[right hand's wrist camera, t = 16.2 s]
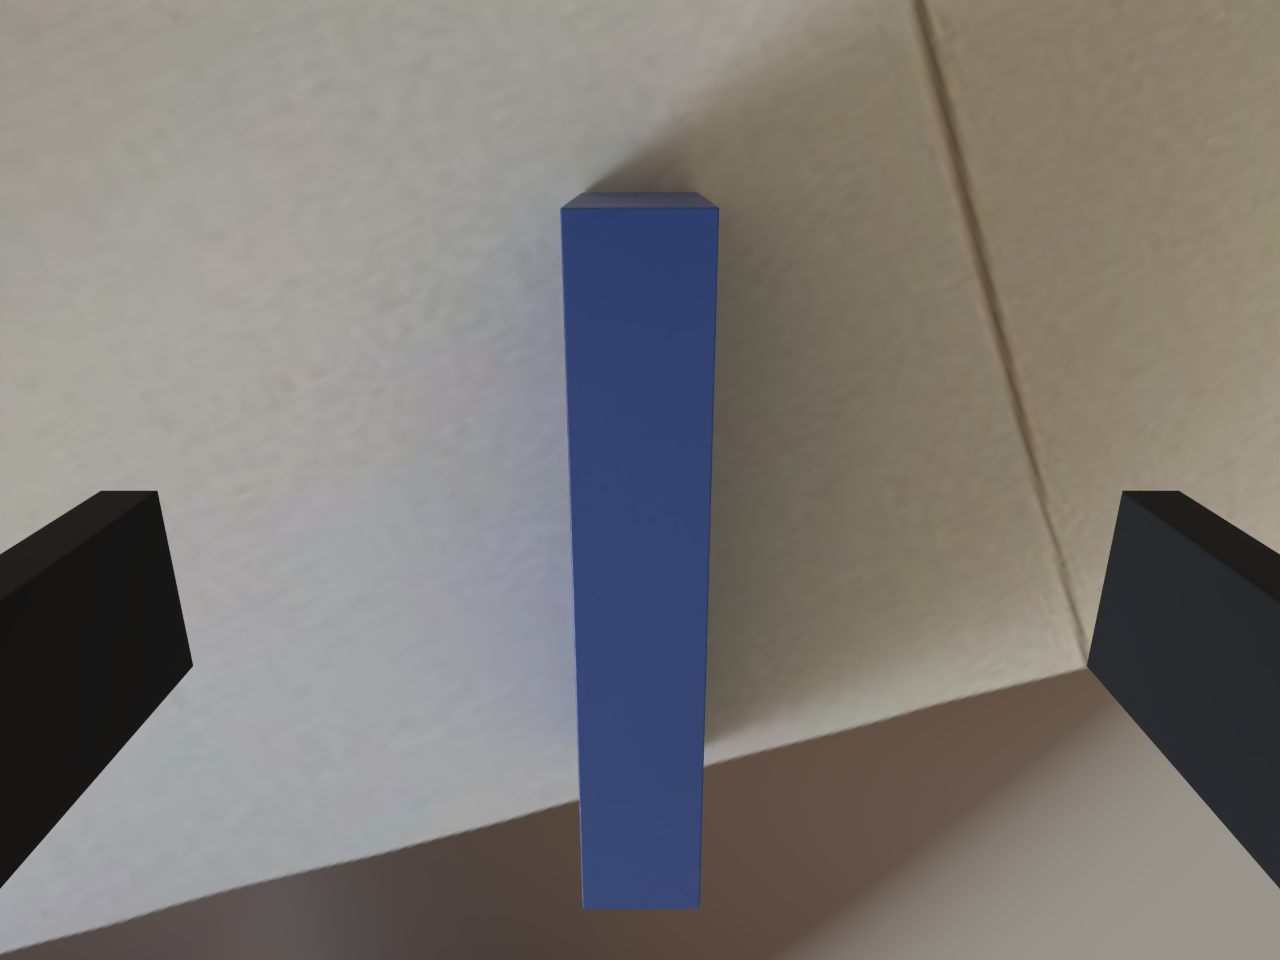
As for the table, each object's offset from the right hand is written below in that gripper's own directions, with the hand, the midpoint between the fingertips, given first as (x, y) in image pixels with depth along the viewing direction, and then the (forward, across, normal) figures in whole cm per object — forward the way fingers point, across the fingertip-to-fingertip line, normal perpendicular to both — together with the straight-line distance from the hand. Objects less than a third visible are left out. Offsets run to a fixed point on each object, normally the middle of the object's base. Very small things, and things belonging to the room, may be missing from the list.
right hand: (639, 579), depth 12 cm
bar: (+25, 0, -9) cm, 26 cm away
